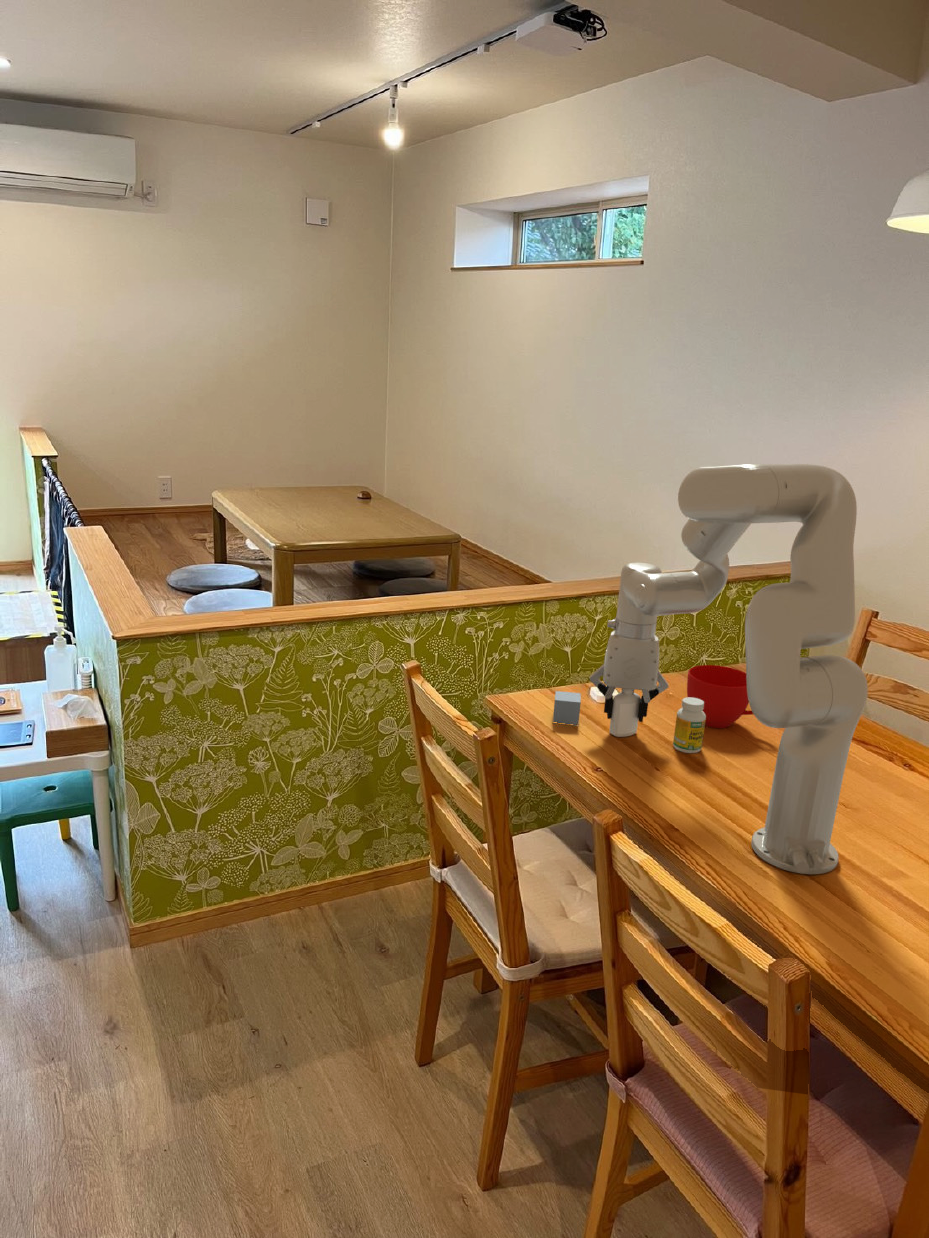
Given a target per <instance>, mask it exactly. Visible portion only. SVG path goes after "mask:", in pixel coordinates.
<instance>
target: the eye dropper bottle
mask: <svg viewBox="0 0 929 1238" xmlns="http://www.w3.org/2000/svg"><path fill="white" fill-rule="evenodd" d="M640 698H641V696H640V695H639V694H638V693H636V692H635V689H625V688H621V692H618V693H617V694H616V695H615V696H613V708H612V717H611V718H610V721H609V729H608V730H609V734H611V735H613V736H614V737H616V738H617V737H618V738H623V737H625V738H626V737H630V736H633V735H635V734H636V733H637V731H638V725H639V720H638V715H639V707H640Z"/></svg>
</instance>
